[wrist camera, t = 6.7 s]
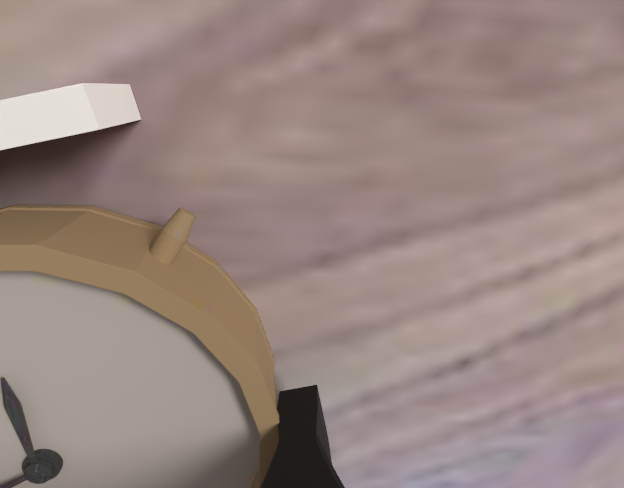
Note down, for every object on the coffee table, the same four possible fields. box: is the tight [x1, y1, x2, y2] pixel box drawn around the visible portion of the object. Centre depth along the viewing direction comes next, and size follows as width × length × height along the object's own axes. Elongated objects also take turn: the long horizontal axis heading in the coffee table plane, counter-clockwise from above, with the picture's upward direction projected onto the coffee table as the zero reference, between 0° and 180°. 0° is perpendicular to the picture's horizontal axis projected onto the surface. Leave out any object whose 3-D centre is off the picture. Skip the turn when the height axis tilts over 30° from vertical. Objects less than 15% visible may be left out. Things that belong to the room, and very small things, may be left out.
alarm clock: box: [0, 205, 279, 488], centre depth 11 cm, size 11×5×15 cm
